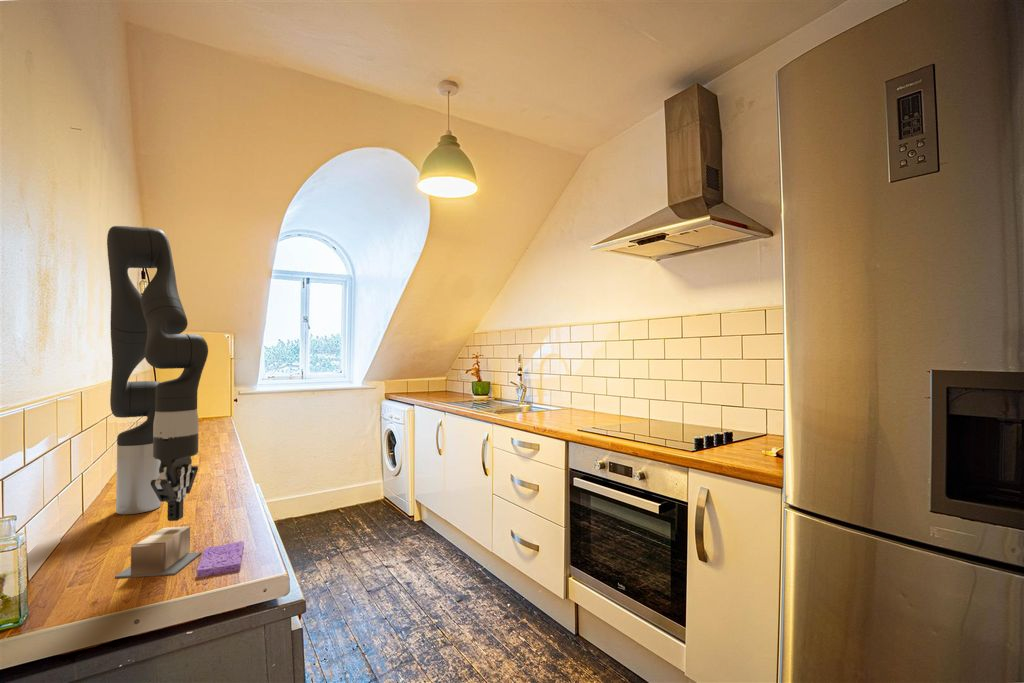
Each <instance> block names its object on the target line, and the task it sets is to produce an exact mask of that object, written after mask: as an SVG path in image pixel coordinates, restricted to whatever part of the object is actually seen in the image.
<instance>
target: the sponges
mask: <svg viewBox="0 0 1024 683" xmlns="http://www.w3.org/2000/svg"><path fill="white" fill-rule="evenodd" d="M244 546H245V543H244V540H242V541H241V540H240V541H238V542H237V541H236V542H231V543H227V544H221V545H215V546H208V547H206V546H205V547H204V550H203V552H202V554H201V555H202V556H201V559H200V560H199V564H198V566H197V568H196V574H195V575H196V579H199V578H203V577H204V576H205V577H209V575H210V576H215V575H220V574H226V573H231V572H236V570H238V571H241V567H242V560H243V553H244ZM198 577H199V578H198ZM205 577H204V578H205Z"/></svg>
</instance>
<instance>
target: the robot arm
mask: <svg viewBox="0 0 1024 683" xmlns="http://www.w3.org/2000/svg"><path fill="white" fill-rule="evenodd" d="M170 244H171V243H170V242H169V239H168V236H167V234H166V233H165V232H164V231H163V230H162V229H160V228H154V227H143V226H141V227H139V226H127V225H113V226H111V227H110V228H109V229H108V232H107V236H106V246H107V247H106V248H107V250H106V251H107V260H108V261H107V262H108V269H109V270H108V271H109V281H110V322H109V324H110V342H111V343H110V344H111V357H112V358H111V361H112V363H111V365H112V367H111V382H110V395H109V396H110V397H109V398H110V401H109V402H110V405H109V406H110V410H111V413H112V415H113V416H114V417H116V418H119V419H120V418H123V419H124V418H126V419H127V418H137V417H138V418H139V417H147V418H146V420H145V421H144V422H142V423H141V424H139V425H138V426H136V427H133V428H130V429H127V430H125V431H122V432H120V433H118V435H117V438H116V487H115V489H116V492H115V493H116V494H115V495H116V496H115V501H116V502H115V513H116V514H118V515H135V514H140V513H145V512H146V513H147V512H151V511H153V510H156V509H158V508H160V507H161V504H162V502H163V503H164V502H165V503H167V521H169V522H175V521H177V522H178V521H179V520H181V519H182V518H183V517H184V500H185V499H186V498H187V497H186V496H187V494H188V495H189V494H190V493H191V491H192V487H193V485H194V482H195V479H196V476H197V474H198V470H199V466H198V465H195V466H194V465H192V463H193V461H192V457H194V456H196V455H198V453H199V427H200V425H199V424H200V423H199V413H198V391H199V389H198V388H199V386H200V381H201V377H202V374H203V371H204V367H205V365H206V363H207V359H208V356H209V346H208V342H207V341H206V340H205V338H204V337H203V336H201V335H199V334H194V333H193V334H192V333H185V334H184V333H183V332H184V331H185V330H186V329H187V328H188V318H187V315H186V313H185V309H184V306H183V303H182V301H181V298H180V294H179V291H178V286H177V279H176V272H175V271H176V270H175V266H174V265H175V264H174V260H173V256H172V255H173V254H172V250H171V245H170ZM129 269H156V272H155V274H154V276H153V277H152V279H151V280H150V282H149V283H148V284H147V285H146V286H145V288H144V290H143V292H142V294H141V292H140V291H139V290H138V289H137V287H136V286H135V285H134V283H133V282H132V280H131V279H130V276H129V271H128V270H129ZM144 360H145V361H146V362H147V363H148V364H149V366H152V368H155V369H159V370H163V369H167V370H168V369H170V370H171V369H172V370H173V369H183V370H182V372H181V374H180V375H179V376H178V377H177V378H173V379H170V380H164V381H161V382H160V381H157V380H156V381H155V380H146V381H145V380H143V381H140V380H139V381H128V380H129V379H130V377H131V375H132V373H133V372H134V370H135V369H136V368H137V366H138V365H139V364H140V363H141V362H142V361H144Z"/></svg>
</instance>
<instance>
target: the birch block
mask: <svg viewBox="0 0 1024 683" xmlns="http://www.w3.org/2000/svg"><path fill="white" fill-rule="evenodd" d="M187 553H191V526H173V527H171V526H169V527H162V528H161V529H159V530H157V531H156V532H154V533H152V534H150V535H149V536H147V537H146V538H144V539H142V540H141V541H138V542H137V543H136V544H135V545H132V546H131V547H130V566H131V575H141V574H159V573H162V572H163V571H165V570H166V569H167V568H169V567H170V566H171V565H173V564H174V563H175V562H177V561H178V560H179V559H181V558H182V557H183V556H185V555H186V554H187Z"/></svg>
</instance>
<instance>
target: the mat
mask: <svg viewBox="0 0 1024 683" xmlns="http://www.w3.org/2000/svg"><path fill="white" fill-rule="evenodd" d="M200 555H203V552H202V551H201V552H200V551H199V552H198V551H197V552H189V553H187V554H186V555H185V556H183V557H182V558H181V559H179V560H178V561H177V562H175V563H174V564H173V565H171V566H170V567H169V568H167V569H166V570H165V571H163V572H162V573H159V574H141V575H131V565H130V566H129V567H126V568H125V569H124V570H123V571H121V572H120V573H118V574H116V575H115V576H114V578H115V579H119V578H123V579H125V578H136V577H137V578H138V577H154V576H156V577H157V576H173V575H177V574H178V573H179V572H181V570H183V569H184V568H185V567H187V566H188V565H189V564H191V563H192V562H193V561H194V560H195V559H196V558H198V557H199V556H200ZM191 561H192V562H191Z"/></svg>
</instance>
